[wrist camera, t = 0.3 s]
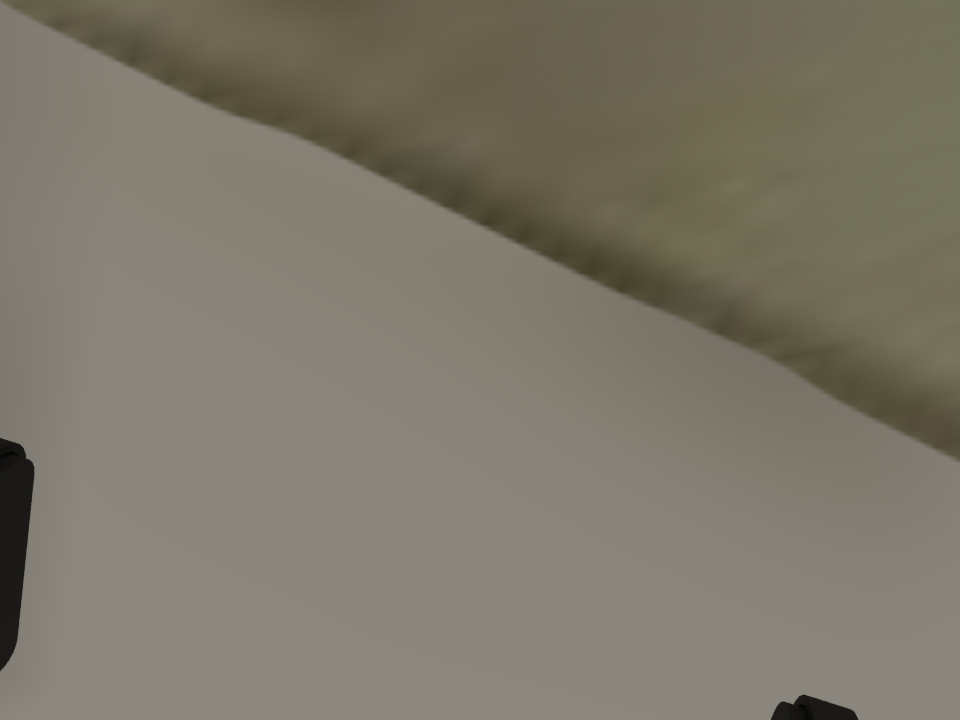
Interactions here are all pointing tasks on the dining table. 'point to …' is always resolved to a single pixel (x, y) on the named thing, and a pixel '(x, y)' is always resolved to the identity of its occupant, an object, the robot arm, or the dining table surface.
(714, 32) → the dining table surface
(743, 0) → the dining table surface
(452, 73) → the dining table surface
